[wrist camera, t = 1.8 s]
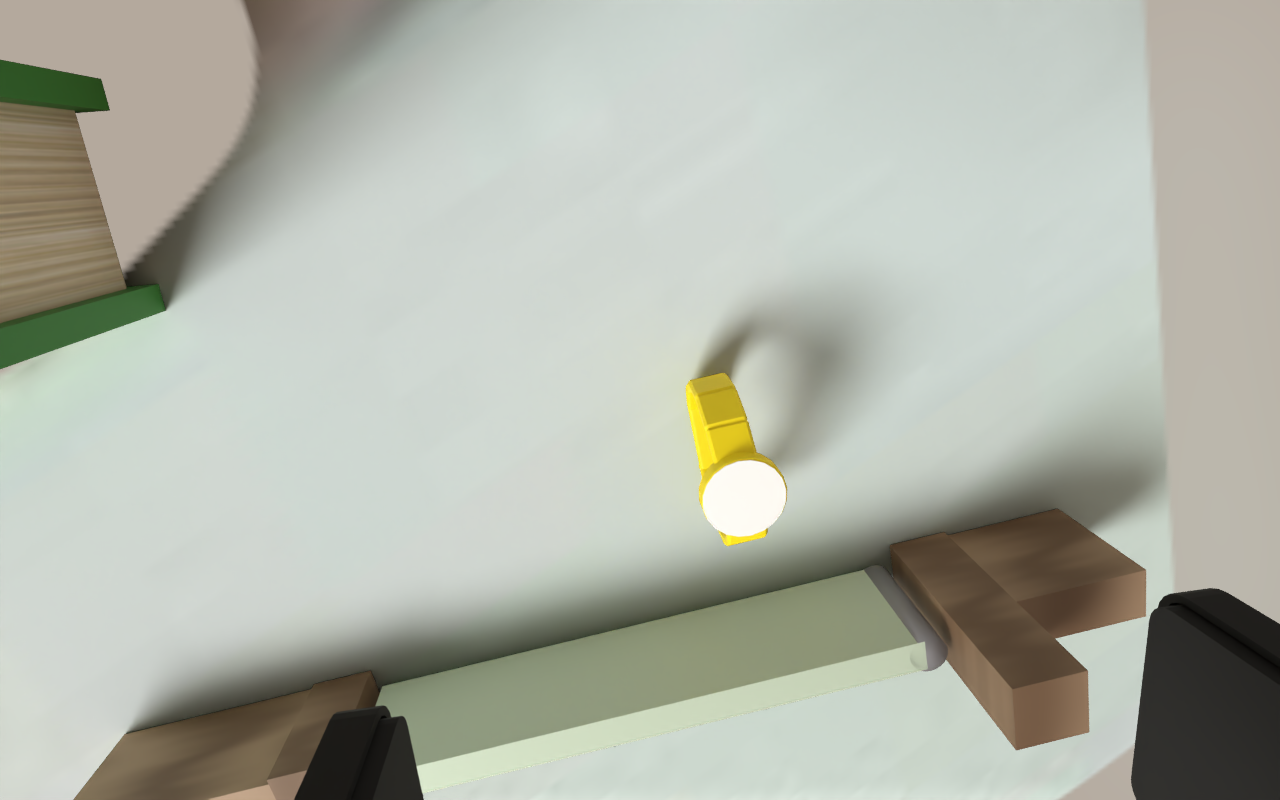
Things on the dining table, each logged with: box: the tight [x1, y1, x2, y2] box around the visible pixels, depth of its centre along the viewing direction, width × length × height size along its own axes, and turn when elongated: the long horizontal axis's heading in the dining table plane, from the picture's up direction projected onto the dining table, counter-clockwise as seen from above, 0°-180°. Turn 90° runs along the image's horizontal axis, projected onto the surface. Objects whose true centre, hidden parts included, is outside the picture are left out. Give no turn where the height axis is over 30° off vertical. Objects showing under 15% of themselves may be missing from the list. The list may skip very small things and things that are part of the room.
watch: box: [686, 373, 787, 546], centre depth 26 cm, size 6×3×6 cm, turn 12°
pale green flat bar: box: [376, 565, 948, 793], centre depth 28 cm, size 22×2×5 cm, turn 102°
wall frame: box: [74, 509, 1146, 800], centre depth 27 cm, size 40×2×9 cm, turn 102°
